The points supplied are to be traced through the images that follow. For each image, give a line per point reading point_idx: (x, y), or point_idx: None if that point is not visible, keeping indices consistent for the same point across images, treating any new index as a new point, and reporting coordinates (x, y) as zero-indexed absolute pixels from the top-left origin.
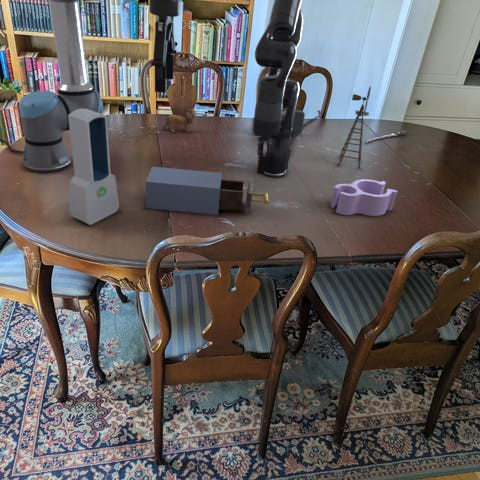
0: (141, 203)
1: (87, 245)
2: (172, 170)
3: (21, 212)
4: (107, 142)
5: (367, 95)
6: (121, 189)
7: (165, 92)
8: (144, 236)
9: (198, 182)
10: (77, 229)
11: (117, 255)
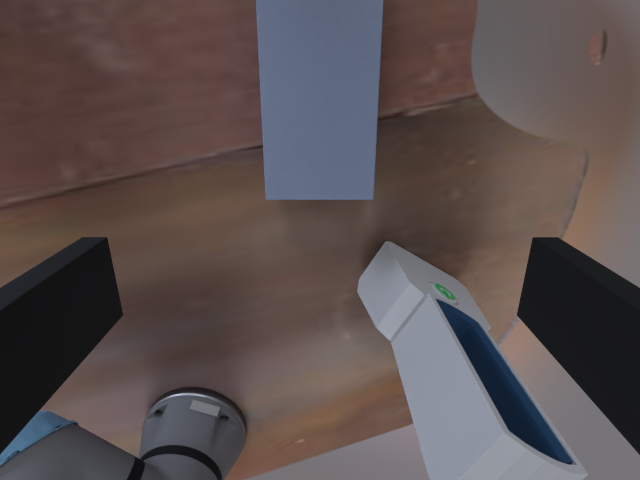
0: None
1: None
2: (278, 131)
3: None
4: (466, 357)
5: None
6: (277, 256)
7: (548, 237)
8: (494, 158)
9: (351, 26)
10: None
11: (568, 199)
